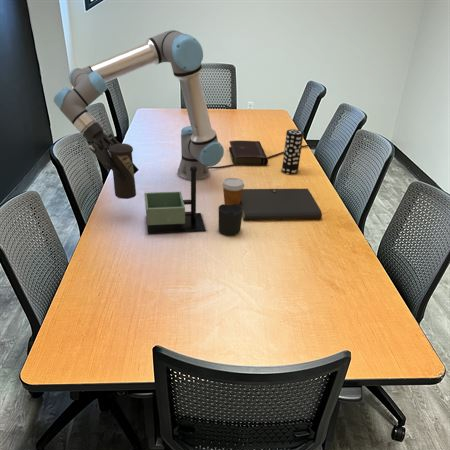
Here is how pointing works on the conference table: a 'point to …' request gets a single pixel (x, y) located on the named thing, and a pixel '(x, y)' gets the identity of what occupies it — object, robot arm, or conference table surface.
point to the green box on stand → (173, 211)
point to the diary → (248, 153)
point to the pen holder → (230, 219)
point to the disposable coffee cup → (232, 190)
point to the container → (123, 159)
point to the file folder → (279, 204)
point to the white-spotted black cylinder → (292, 151)
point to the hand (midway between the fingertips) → (131, 175)
